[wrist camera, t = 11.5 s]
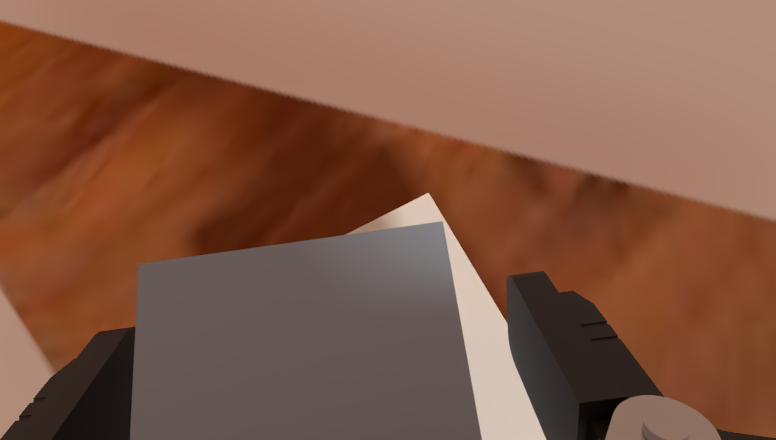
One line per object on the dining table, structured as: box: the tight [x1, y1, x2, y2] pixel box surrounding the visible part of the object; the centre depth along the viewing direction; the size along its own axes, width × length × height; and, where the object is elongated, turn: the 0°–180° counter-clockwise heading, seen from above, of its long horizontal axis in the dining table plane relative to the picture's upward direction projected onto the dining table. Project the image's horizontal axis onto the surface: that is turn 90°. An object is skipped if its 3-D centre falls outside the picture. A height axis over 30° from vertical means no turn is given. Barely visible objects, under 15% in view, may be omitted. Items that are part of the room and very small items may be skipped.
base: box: [346, 193, 546, 440], centre depth 18 cm, size 11×11×4 cm
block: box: [130, 221, 482, 440], centre depth 12 cm, size 5×5×10 cm
